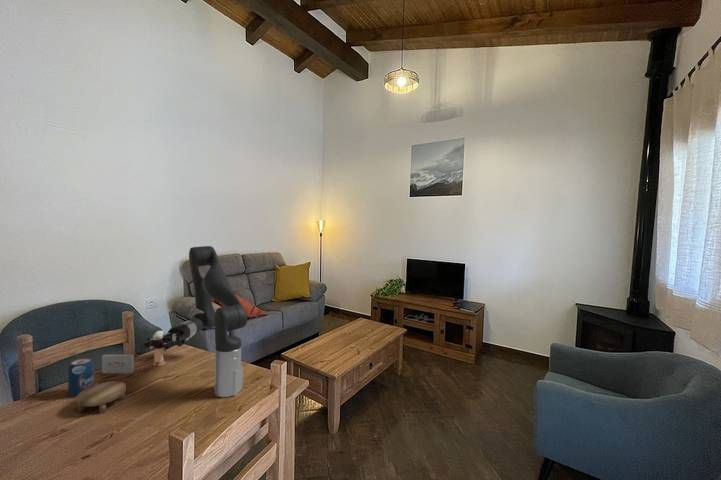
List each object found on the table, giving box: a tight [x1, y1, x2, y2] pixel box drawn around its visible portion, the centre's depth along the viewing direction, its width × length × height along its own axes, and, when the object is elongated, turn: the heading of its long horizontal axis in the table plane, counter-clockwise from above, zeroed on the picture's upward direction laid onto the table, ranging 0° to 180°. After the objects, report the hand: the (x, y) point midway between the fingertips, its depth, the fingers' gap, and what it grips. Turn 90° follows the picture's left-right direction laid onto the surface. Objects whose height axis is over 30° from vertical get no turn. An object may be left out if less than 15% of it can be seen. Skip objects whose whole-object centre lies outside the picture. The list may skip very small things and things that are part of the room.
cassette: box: [101, 354, 135, 375], centre depth 129 cm, size 12×2×8 cm, turn 96°
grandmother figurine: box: [149, 330, 167, 367], centre depth 116 cm, size 8×4×13 cm, turn 84°
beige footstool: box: [76, 380, 127, 415], centre depth 106 cm, size 13×13×5 cm
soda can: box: [67, 357, 95, 398], centre depth 113 cm, size 7×7×12 cm
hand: (154, 346), depth 114 cm, fingers closed on grandmother figurine, 7 cm apart
